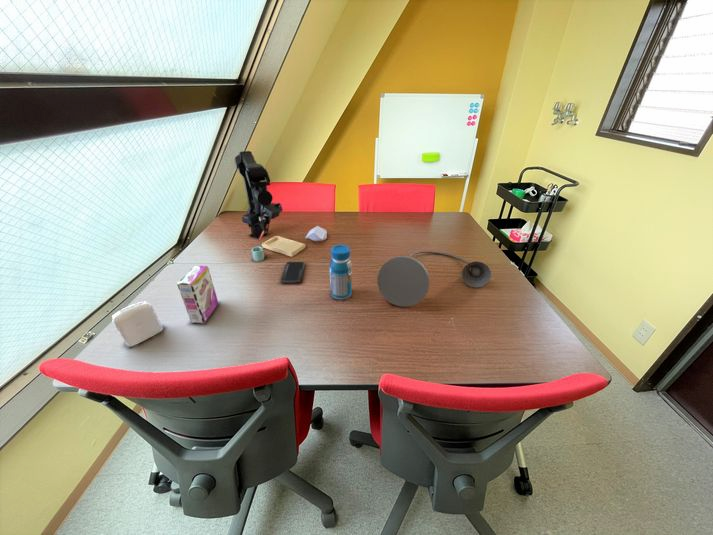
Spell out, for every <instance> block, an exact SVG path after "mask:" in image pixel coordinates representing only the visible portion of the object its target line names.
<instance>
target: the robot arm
mask: <svg viewBox="0 0 713 535" xmlns="http://www.w3.org/2000/svg"><path fill="white" fill-rule="evenodd" d="M234 165H235V168H236V169H237V172H238V173H239V174H240V176H241V177H242V179H243V184H244V189H245V194H246V198H247V204H248V208H247V210H246V214H244V215H242V217H241V221H242V223H244V224H247V226H248V228H250V232H251V234H249V237H252V238H256V239H259V238H260V236H261V234H262V232H263V231H264V232H265V233H264V234H263V236H262V237H264V236H266V235H267V232H268V231H269V229H270V223H271V220H274V219H276V218H278V217H279V216H280V213H282V212H283V205H282V203H280V202H277V203H276V202H273V200H274V199H273V195H272V193H271V192H270V191H269V190H268V187H267V186H271V179H270V175H269V172H268V170H267V169H266V168H265V166H263V165H262V164H260V163H257V161H256V160H255V155H253V153H252V151H250V150H243V151H239V152H238V155H236V156H235V157H234ZM267 224H268V227H267V229H266V225H267Z"/></svg>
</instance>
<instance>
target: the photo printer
mask: <svg viewBox="0 0 713 535" xmlns="http://www.w3.org/2000/svg"><path fill="white" fill-rule="evenodd" d="M111 319H112V323H113V325H114V327H115V328H116V330H117V332H118V333H119V335H120V337H121V338H122V340H123V342H124V343H125V345H126V346H127V347H131V348H132V347H134V346H136V345H138V344H140V343H142V342H145V341H146V340H148V339H150V338H152V337H154V336H156V335H157V334H160V333H161V332H162V331H163V330H164V328H163V325H162V323H161V321H160V319H159V317H158V315H157V313H156V310H155V309H154V307H153V305H152V304H151V303H149V302H148V301H147V300H145V301H140V302H136V303H133V304H130V305H128V306H125V307H124V308H122V309H120V310H118V311H117V312H115V313H114V314H113V315H111Z"/></svg>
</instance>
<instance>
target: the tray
mask: <svg viewBox="0 0 713 535" xmlns="http://www.w3.org/2000/svg"><path fill="white" fill-rule="evenodd" d="M261 247H262V248H263V249H266V250H268V251H269V250H270V251H273V252H276V253H279V254H282V255H285V256H288V257H291V258H293V257H294V256H296V255H297V254H298V253H300V252H301V251H303V250H304V249H306V243H304V242H300V241H297V240H293V239H290V238H287V237H284V236H280V235H274V236H273V237H271V238H269V239H268V240H266V241H264V242H262V243H261Z"/></svg>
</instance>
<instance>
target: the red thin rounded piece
mask: <svg viewBox="0 0 713 535" xmlns="http://www.w3.org/2000/svg"><path fill="white" fill-rule="evenodd" d="M267 227H268V224H267V225H266V229H267ZM264 233H266V232H264V231H263V232H262V234H261V236H260V238H258V240H259V241H261V239H262V238H263V237H264V236H263V234H264Z"/></svg>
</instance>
